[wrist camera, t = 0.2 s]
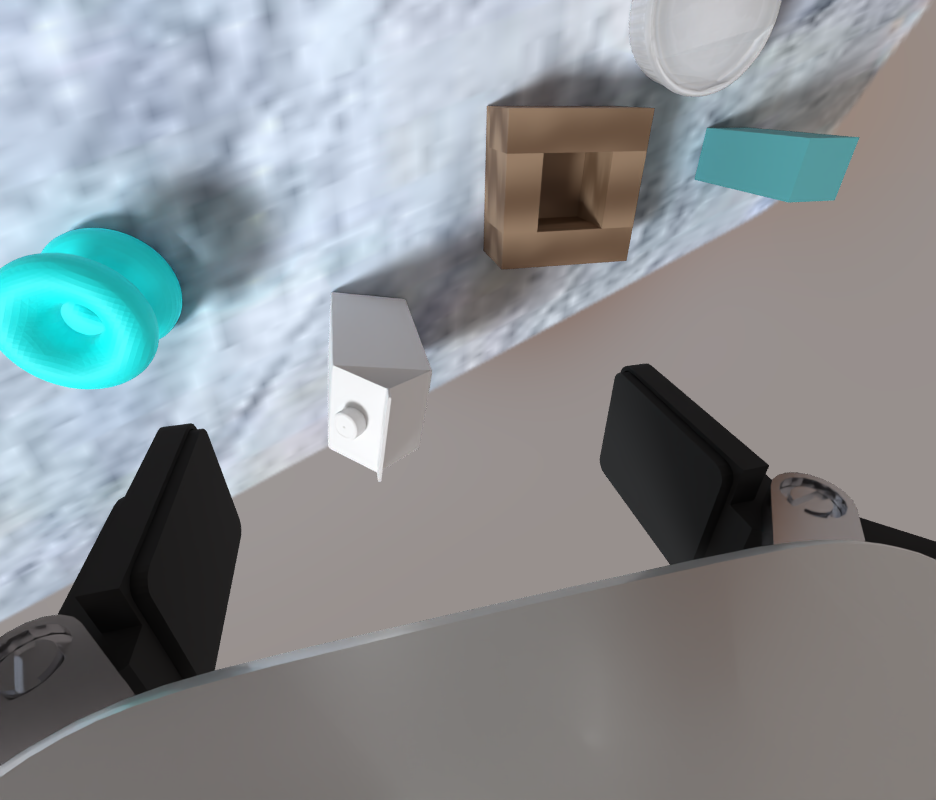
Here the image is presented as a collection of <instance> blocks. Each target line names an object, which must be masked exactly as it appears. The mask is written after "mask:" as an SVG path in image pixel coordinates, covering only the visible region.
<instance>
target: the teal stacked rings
mask: <svg viewBox="0 0 936 800" xmlns="http://www.w3.org/2000/svg"><path fill="white" fill-rule="evenodd" d="M181 310H182V292H181V287H180V284H179V281H178V279H177V277H176V275H175V273H174V271H173V270H172V268H171V267H170V265H169V264H168V263H167V262H166V260H165V259H164V258H163V257H162V256H161V255H160V254H159V253H158V252H156V251H155V250H154V249H153V248H151V247H150V246H149V245H147V244H146V243H144V242H142V241H140V240H139V239H137V238H135V237H133V236H130V235H128V234H125V233H122V232H119V231H115V230H111V229H104V228H81V229H76V230H72V231H69V232H66V233H64V234H62V235H60V236H58V237H56V238H55V239H53V240H52V241H51V242H49V243H48V244H47V246H46V247H45V248H44V249H43V251H42V252H41V253H40V254H33V255H28V256H24V257H21V258H18V259H16V260H14V261H12V262H10V263H8V264H6V265H5V266H3V267H2V268H0V350H1V351H2V353H3V354H5V355H6V356H7V357H8V358H9V359H10V360H11V361H12V362H14V363H15V364H16V365H17V366H19V367H20V368H22V369H23V370H25V371H27V372H28V373H30V374H32V375H34V376H36V377H38V378H40V379H43V380H45V381H48V382H50V383H53V384H57V385H60V386H65V387H70V388H77V389H101V388H108V387H113V386H117V385H120V384H123V383H125V382H127V381H129V380H131V379H133V378H135V377H136V376H138V375H139V374H140V373H142V372H143V371H144V370H145V369H146V368H147V367H148V365H149V364H150V363H151V361H152V360H153V358H154V356H155V354H156V351H157V348H158V343H159V339H161V338H162V337H164V336H165V335H167V334H168V333H169V332H170V331H171V330H172V329H173V327H174V326H175V324H176V323H177V321H178V319H179V317H180V314H181Z"/></svg>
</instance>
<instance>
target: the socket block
mask: <svg viewBox="0 0 936 800" xmlns="http://www.w3.org/2000/svg"><path fill="white" fill-rule="evenodd" d="M654 109H655V108H642V107H623V106H487V126H486V168H485V210H484V252H485V253H486V254H487V255H488V256H489V257H490V258H491V259H492V260H493V261H494V262H495V263H496V264H497V265H498V266H499V267H500V268H501V269H516V268H530V267H544V266H558V265H572V264H586V263H600V262H614V261H626V260H627V255H628V249H629V244H630V239H631V233H632V228H633V222H634V217H635V212H636V206H637V201H638V196H639V190H640V185H641V179H642V174H643V169H644V163H645V158H646V152H647V147H648V142H649V136H650V131H651V125H652V120H653V115H654Z"/></svg>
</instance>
